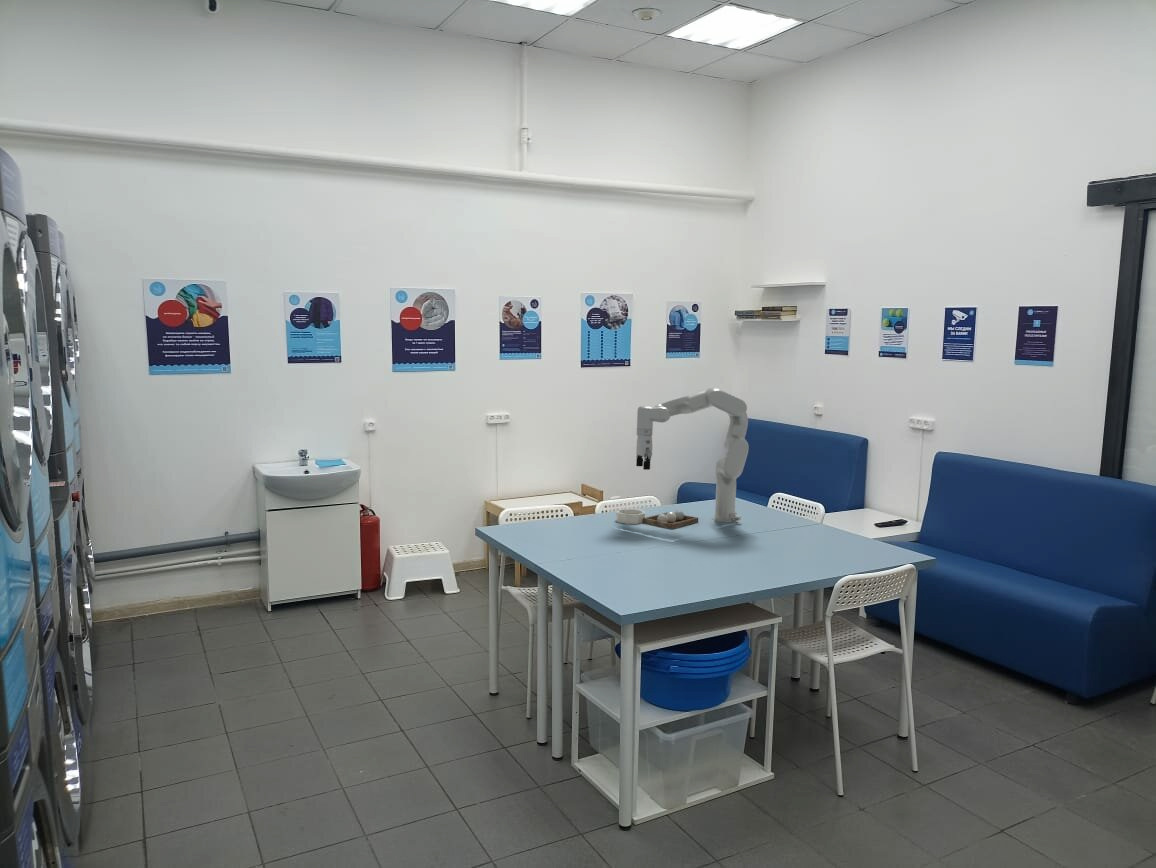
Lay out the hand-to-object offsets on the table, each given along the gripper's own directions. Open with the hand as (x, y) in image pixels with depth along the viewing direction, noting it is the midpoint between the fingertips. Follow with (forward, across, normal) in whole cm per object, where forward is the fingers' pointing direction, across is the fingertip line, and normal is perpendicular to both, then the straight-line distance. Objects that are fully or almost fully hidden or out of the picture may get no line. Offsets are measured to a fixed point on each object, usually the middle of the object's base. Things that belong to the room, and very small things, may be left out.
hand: (643, 467), depth 387 cm
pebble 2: (+25, -10, -11) cm, 29 cm away
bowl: (+26, -3, +6) cm, 26 cm away
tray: (+26, -10, -11) cm, 30 cm away
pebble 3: (+25, -7, -17) cm, 31 cm away
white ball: (+25, -14, -6) cm, 29 cm away
